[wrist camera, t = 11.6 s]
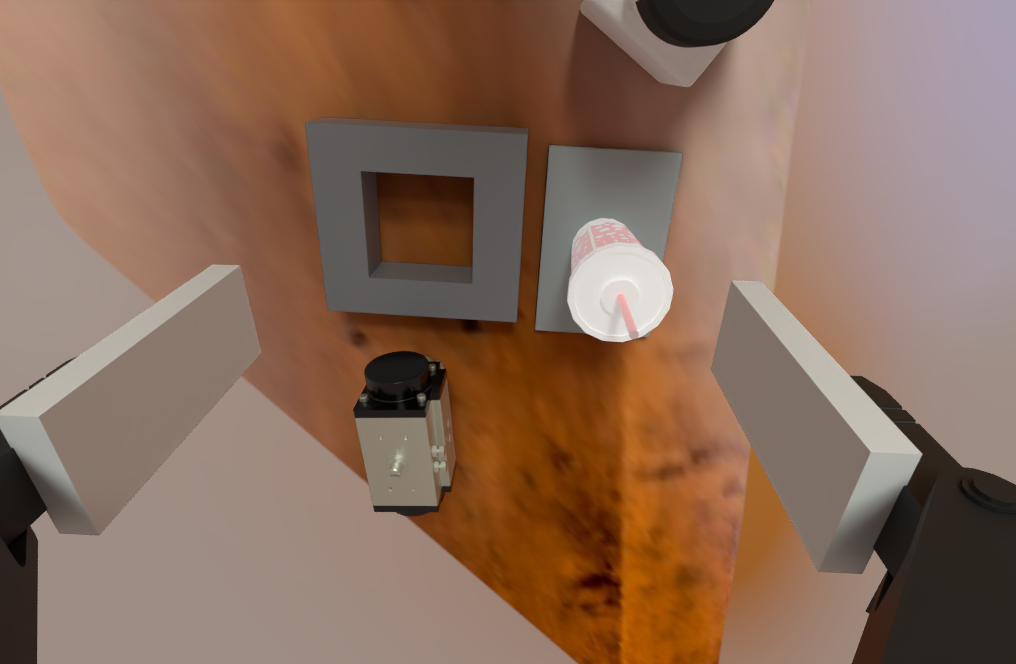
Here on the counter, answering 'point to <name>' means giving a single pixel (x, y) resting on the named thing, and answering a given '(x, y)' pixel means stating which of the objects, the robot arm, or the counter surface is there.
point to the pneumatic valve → (406, 433)
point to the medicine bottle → (674, 31)
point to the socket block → (355, 219)
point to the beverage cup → (616, 283)
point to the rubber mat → (599, 212)
